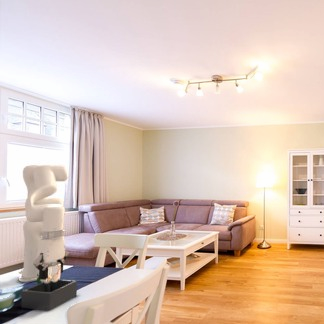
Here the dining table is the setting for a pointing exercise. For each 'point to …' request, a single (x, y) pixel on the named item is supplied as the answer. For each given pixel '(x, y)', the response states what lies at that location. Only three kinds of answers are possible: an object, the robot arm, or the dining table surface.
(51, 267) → the beer glass
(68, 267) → the dining table surface
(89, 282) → the dining table surface
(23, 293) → the bin
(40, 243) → the robot arm
